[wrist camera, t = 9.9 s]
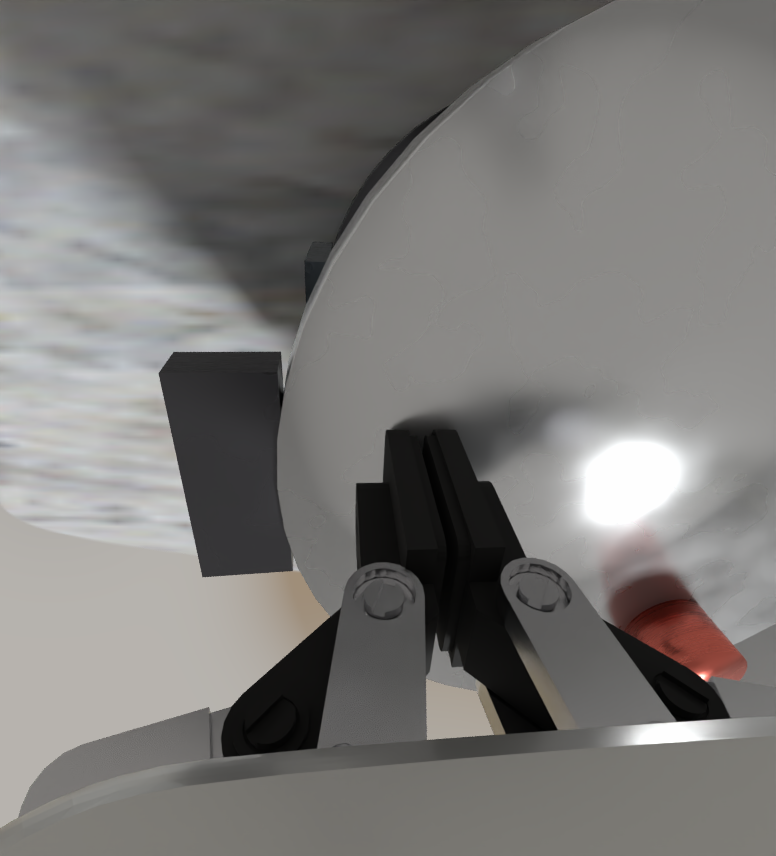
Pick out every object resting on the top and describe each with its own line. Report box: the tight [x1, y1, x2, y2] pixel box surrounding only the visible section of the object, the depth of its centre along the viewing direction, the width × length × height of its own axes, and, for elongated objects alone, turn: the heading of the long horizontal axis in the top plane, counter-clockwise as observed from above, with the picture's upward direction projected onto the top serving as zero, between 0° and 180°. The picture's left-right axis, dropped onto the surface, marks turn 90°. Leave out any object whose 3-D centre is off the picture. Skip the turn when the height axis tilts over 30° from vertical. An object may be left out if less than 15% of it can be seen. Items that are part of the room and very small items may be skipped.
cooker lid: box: [159, 0, 776, 691], centre depth 12 cm, size 23×21×4 cm
